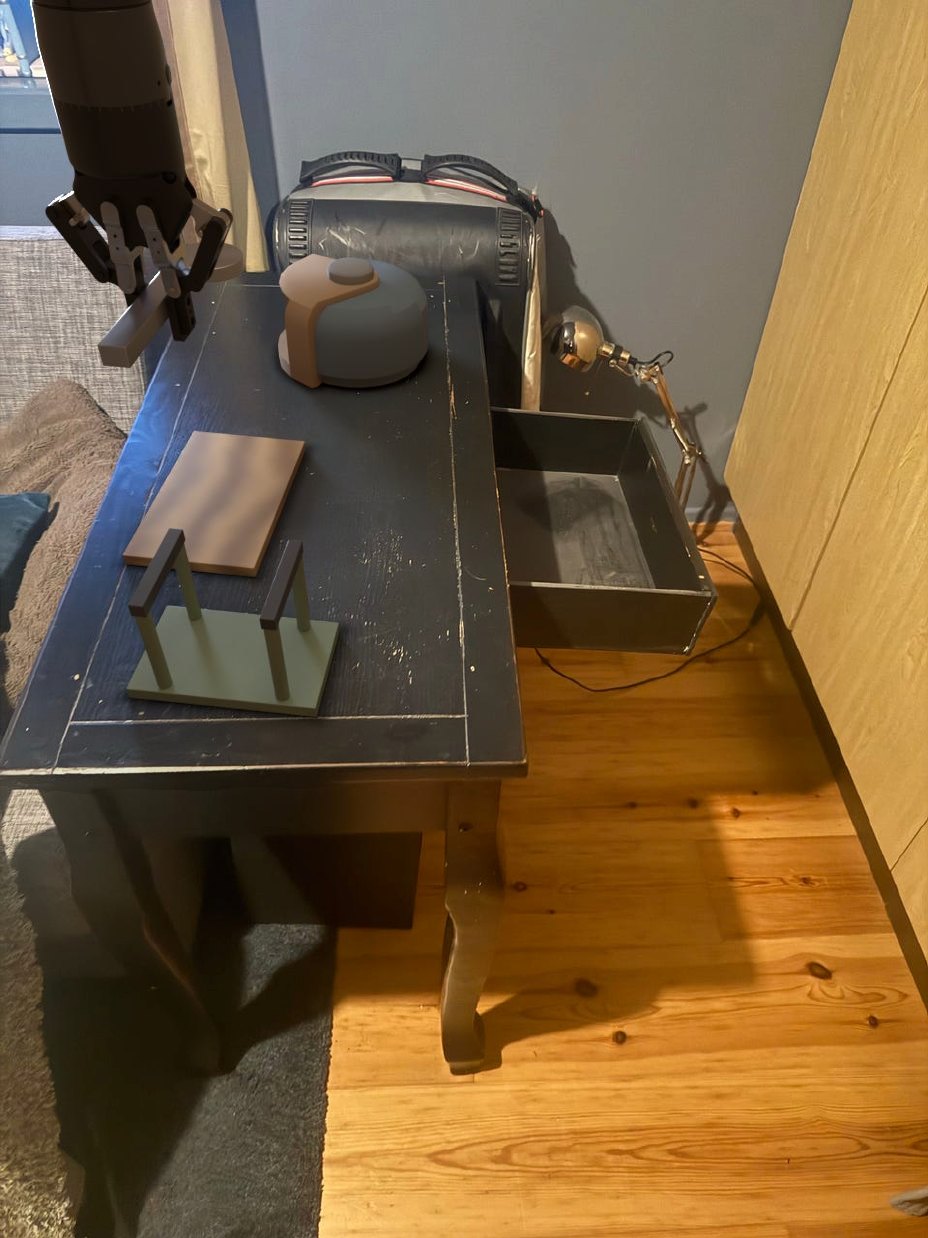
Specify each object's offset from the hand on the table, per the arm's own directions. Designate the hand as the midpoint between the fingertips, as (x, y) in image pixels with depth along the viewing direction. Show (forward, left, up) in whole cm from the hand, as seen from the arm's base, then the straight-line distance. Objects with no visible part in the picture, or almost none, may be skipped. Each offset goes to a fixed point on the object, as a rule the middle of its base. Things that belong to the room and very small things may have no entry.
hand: (167, 334), depth 66 cm
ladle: (0, +3, +1) cm, 3 cm away
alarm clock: (+6, +42, -23) cm, 49 cm away
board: (-2, +8, -23) cm, 25 cm away
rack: (+6, -14, -23) cm, 28 cm away
